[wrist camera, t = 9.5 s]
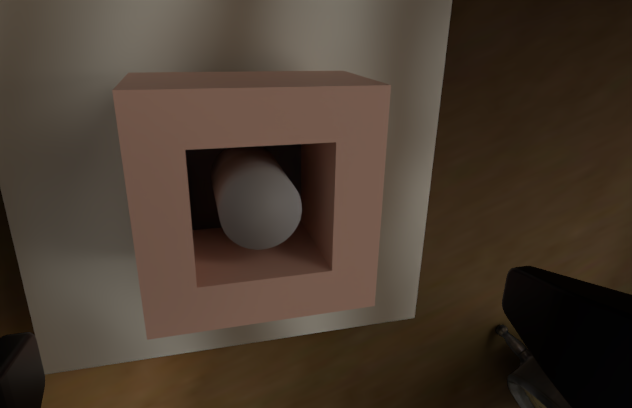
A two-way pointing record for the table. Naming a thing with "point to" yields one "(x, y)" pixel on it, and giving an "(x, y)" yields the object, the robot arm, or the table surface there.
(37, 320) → the post stand
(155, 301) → the collar
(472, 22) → the table surface
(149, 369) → the table surface
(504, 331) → the alarm clock
